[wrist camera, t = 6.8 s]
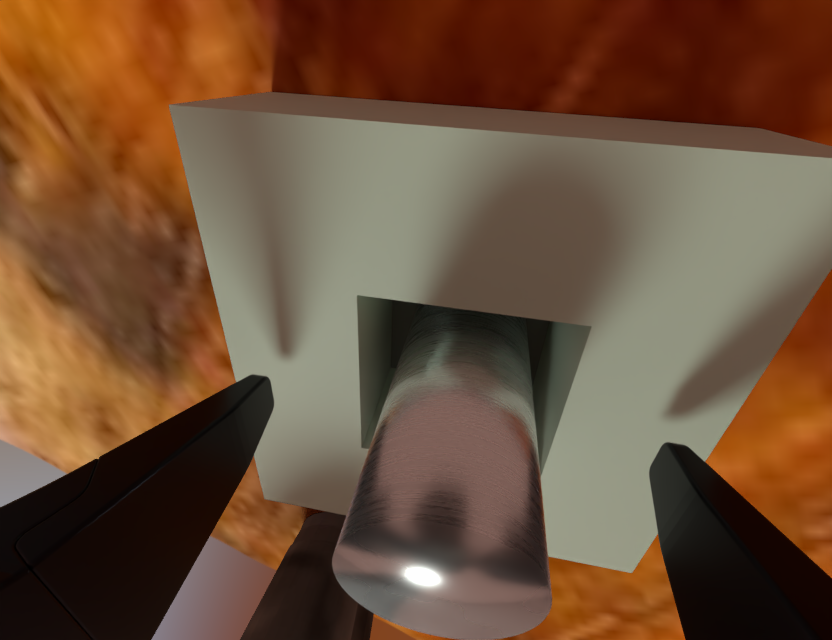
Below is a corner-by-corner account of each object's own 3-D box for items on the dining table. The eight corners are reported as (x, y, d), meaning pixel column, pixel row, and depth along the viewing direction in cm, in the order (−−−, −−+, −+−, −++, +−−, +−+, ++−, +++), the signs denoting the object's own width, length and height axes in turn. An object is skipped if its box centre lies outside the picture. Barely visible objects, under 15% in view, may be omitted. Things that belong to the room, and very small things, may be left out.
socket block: (760, 128, 9) (900, 164, 6) (604, 466, 16) (631, 573, 13) (270, 91, 11) (169, 105, 8) (310, 414, 17) (264, 499, 14)
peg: (536, 280, 12) (579, 554, 5) (514, 371, 14) (526, 657, 7) (418, 265, 12) (324, 502, 6) (413, 356, 14) (337, 612, 8)
